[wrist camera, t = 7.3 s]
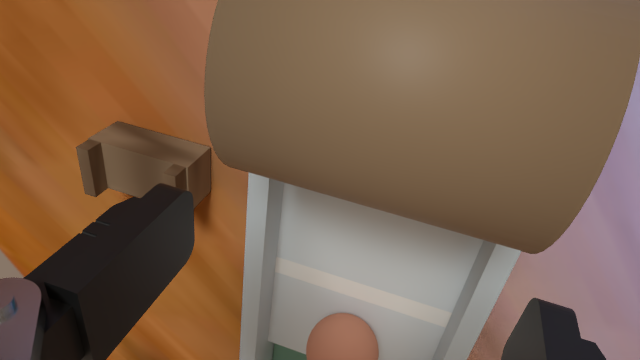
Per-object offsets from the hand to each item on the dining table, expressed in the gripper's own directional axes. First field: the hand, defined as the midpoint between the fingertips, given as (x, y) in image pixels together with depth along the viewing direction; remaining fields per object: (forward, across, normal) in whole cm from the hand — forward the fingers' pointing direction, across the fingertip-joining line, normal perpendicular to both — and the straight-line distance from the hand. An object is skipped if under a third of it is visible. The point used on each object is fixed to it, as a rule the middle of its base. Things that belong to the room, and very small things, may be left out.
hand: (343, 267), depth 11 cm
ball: (+8, 0, +14) cm, 16 cm away
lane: (+12, 0, +9) cm, 15 cm away
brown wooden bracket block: (+12, +13, +7) cm, 19 cm away
